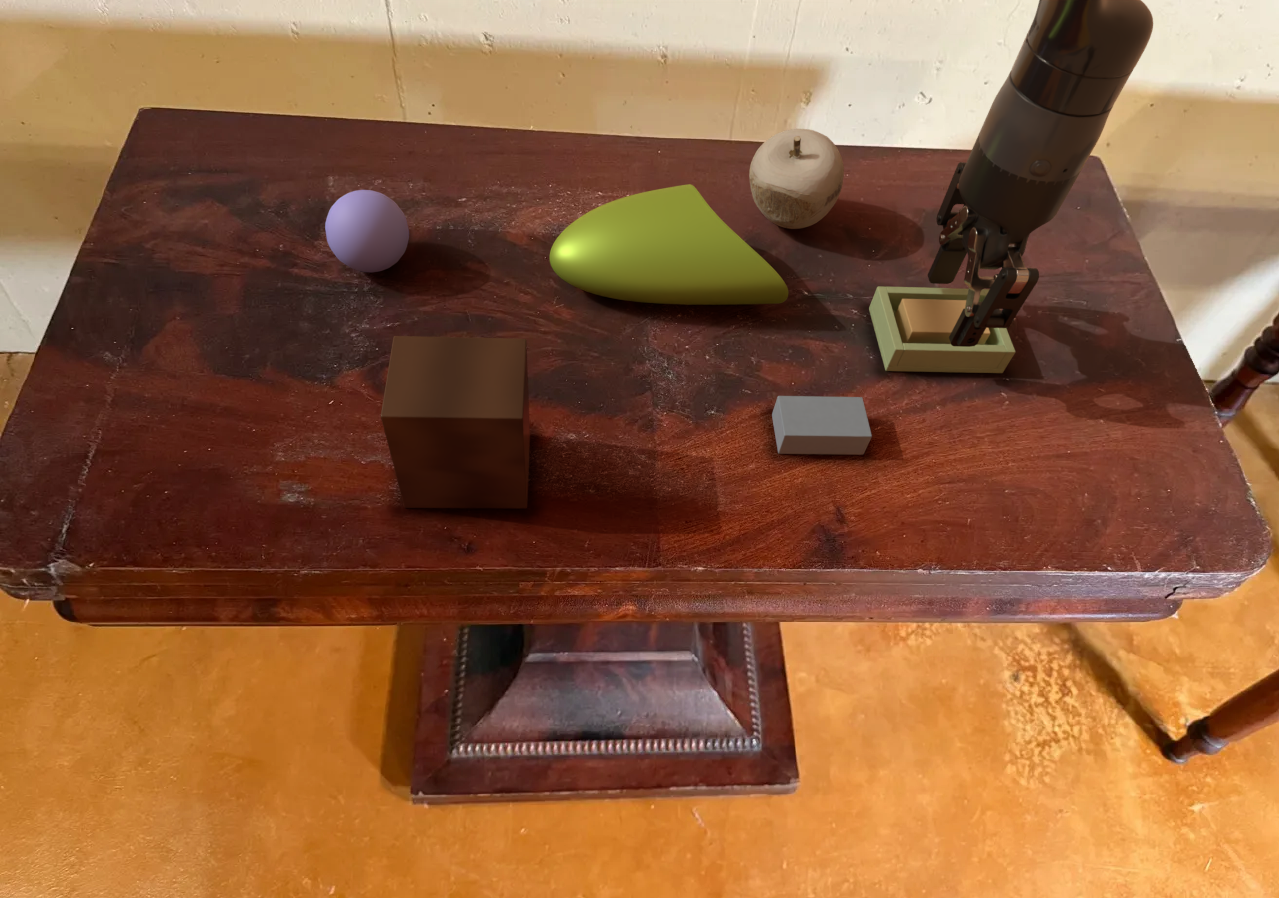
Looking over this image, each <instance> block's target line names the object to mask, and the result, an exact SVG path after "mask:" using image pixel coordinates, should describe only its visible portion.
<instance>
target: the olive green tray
mask: <svg viewBox="0 0 1279 898" xmlns="http://www.w3.org/2000/svg"><path fill="white" fill-rule="evenodd" d="M968 289H969V288H955V287H954V288H951V287H950V288H949V287H919V286H918V287H917V286H916V287H915V286H879V285H878V286H877V287H876V289H875V291H874V295H873V297H872V300H871V302H870V305H869V307H868V311H869V314H870V318H871V322H872V326H873V329H874V333H875V337H876V341H877V344H878V348H879V351H880V355H881V359H882V363H883V366H884V370H885V372H915V373H916V372H917V373H918V372H919V373H920V372H922V373H923V372H924V373H968V374H969V373H971V374H973V373H975V374H978V373H979V374H1003V373H1004V371H1005V370H1006V368H1007V367H1008V365H1009V363H1010V361H1011V360H1012V359H1013V357H1014V356H1015V354H1016V349H1015V347H1014V344H1013V341H1012V339H1011V336H1010V334H1009V332H1008V328H989V331H990V335H989V337H988V339H987V340H986V342H985V344H984V345H975V346H971V347H959V346H952V345H951V344H921V343H903V344H902V340H901V337H900V334H899V330H898V327H897V323H896V320H895V314H896V312H897V309H898V307H899V305H900V303H901V300H902V299H935V300H967V294H968ZM989 290H990V289H982V290H981V293H980V298H979V302H983V300H984V298H985V297H986V295H987V293H988V291H989Z"/></svg>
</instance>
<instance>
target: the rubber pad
mask: <svg viewBox="0 0 1279 898" xmlns="http://www.w3.org/2000/svg"><path fill="white" fill-rule="evenodd" d="M771 417H772V423H773V430H774V431H773V432H774V435H775V436H774V437H775V442H776V443H775V444H776V447H777V449H776V450H777V454H779V455H850V456H851V455H855V456H856V455H859V456H861V455H862V456H863V455H864V454H865V452H866V450H867V448H868V446H869V443H870V441H871V440H872V437H873V435H872V431H871V427H870V422H869V419H868V414H867V410H866V407H865V402H864V398H863V397H862V396H821V395H820V396H818V395H817V396H816V395H815V396H814V395H813V396H811V395H810V396H809V395H808V396H807V395H778V396H777V397H776V401H775V403H774V407H773V409H772V413H771Z"/></svg>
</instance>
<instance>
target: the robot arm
mask: <svg viewBox="0 0 1279 898" xmlns="http://www.w3.org/2000/svg"><path fill="white" fill-rule="evenodd" d="M1034 14H1035V15H1034V17H1033V20H1032V23H1031V25H1030V27H1029V29H1028V31H1027V33H1026V36H1025V38H1024V40H1023V42H1022V45H1021V47H1020V49H1019V51H1018V54H1017V56H1016V58H1015V60H1014V62H1013V65H1012V67H1011V70H1010V72H1009V74H1008V76H1006V77H1007V78H1006V79H1005V81H1004V82H1003V84H1002V86H1001V87H1000V89H999V90H998V92H997V94H996V95H995V97H994V99H993V101H992V103H991V106H990V107H989V110H988V112H987V114H986V117H985V119H984V121H983V123H982V125H981V127H980V131H979V133H978V134H977V138H976V140H975V142H974V144H973V146H972V148H971V151H970V153H969V156H968V158H967V160H966V162H964V161H963V162H962V161H960V162H958V163H957V165H956V167H955V170H954V173H953V175H952V177H951V180H950V183H949V185H948V187H947V190H946V193H945V195H944V198H943V199H942V202H941V205H940V207H939V210H938V211H937V215H936V225H937V226H938V227H939V226H942V230H941V231H940V232H939V236H938V243H939V245H940V246H939V249H938V250H937V253H936V255H935V257H934V259H933V261H932V264H931V265H930V268H929V270H928V273H927V278H928V281H929V283H930V284H933V285H935V284H936V285H938V284H939V285H950V284H951V283H953V282H954V281H955V280H956V279H955V278H956V277H957V274H958V272H959V270H960V269H961V267H962V265H963V262H964V260H965V258H966V256H967V262H966V267H965V273H964V278H963V282H964V285H966V286H967V287H968V288H967V289H968V294H967V300H966V305H965V309H963V311H962V313H961V315H960V317H959V318H958V320H957V322H956V324H955V326H954V328H953V330H952V332H951V334H950V336H949V340H950V343H951V345H952V346H959V347H971V346H975V345H977V344H978V342H979V340H980V338H981V336H982V335H983V333H984V331H985V329H986V328H1006V329H1008V328H1009V327H1010V326H1011V325H1012V323H1013V321H1014V319H1015V318H1016V316H1017V315H1018V313H1019V312H1020V310H1021V308H1022V307H1023V306H1024V305H1025V302H1026V301H1027V300H1028V298H1029V296H1030V294H1031V292H1033V290H1034V288H1035V286H1036V285H1037V283H1038V281H1039V278H1040V271H1039V269H1038V268H1037V267H1026V265H1025V262H1024V260H1023V256H1024V254H1025V251H1026V247H1027V243H1028V240H1029V237H1030V234H1031V233H1033V232H1035V230H1037V229H1038V228H1039V229H1040V228H1041V227H1042V226H1044V225H1046V224H1047V223H1049V222H1051V220H1053V219H1054V218H1055V217H1056V216H1057V214H1058V212H1059V210H1060V209H1061V208H1062V205H1063V204H1064V202H1065V200H1066V198H1067V197H1068V194H1069V193H1070V191H1071V190H1072V188H1073V186H1074V184H1075V182H1076V181H1077V178H1078V177H1079V175H1080V173H1081V172H1082V170H1083V168H1084V166H1085V164H1086V163H1087V161H1088V159H1089V158H1090V156H1091V153H1093V151H1094V149H1095V148H1096V146H1097V144H1098V141H1099V140H1100V138H1101V135H1102V133H1103V131H1104V129H1105V126H1106V123H1107V122H1108V119H1109V116H1110V113H1111V112H1112V109H1113V108H1114V105H1115V103H1116V101H1117V100H1118V98H1119V96H1120V94H1121V92H1122V91H1123V89H1124V88H1125V85H1126V84H1127V82H1128V80H1129V78H1130V77H1131V74H1132V73H1133V71H1134V69H1135V68H1136V66H1137V65H1138V63H1139V61H1140V59H1141V57H1142V56H1143V54H1144V51H1145V49H1146V48H1147V47H1148V44H1149V42H1150V39H1151V37H1152V34H1153V29H1154V18H1153V14H1152V11H1151V10H1150V8H1149V7H1148V5H1146V3H1145V2H1144V1H1142V0H1038V4H1037V8H1036V12H1035V13H1034ZM956 205H962V208H960V209H959V210H958V211H953V208H954V206H956ZM998 269H1000V271H999V272H998V273H995V274H993V276H985V275H980V270H998ZM982 289H990V290H989V291H988V293H987V295H986V297H985V298H984V300H983V302H979V298H980V293H981V290H982Z"/></svg>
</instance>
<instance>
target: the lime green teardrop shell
mask: <svg viewBox="0 0 1279 898" xmlns="http://www.w3.org/2000/svg"><path fill="white" fill-rule="evenodd" d="M549 264H550V266H551V268H552V270H553V271H554V273H555V274H556V275H557V276H558V277H559V278H560V279H561V280H563V281H564V282H565V283H567V284H568V285H570V286H572V287H574V288H577V289H579V290H581V291H583V292H586V293H589V294H592V295H596V296H600V297H603V298H608V299H613V300H619V301H620V300H621V301H627V302H634V303H635V302H636V303H644V304H645V303H646V304H658V305H659V304H661V305H683V306H684V305H688V306H691V305H692V306H694V305H695V306H700V305H701V306H717V305H718V306H721V305H725V306H726V305H728V306H729V305H776V304H783V303H784V302H786V301H787V299H788V297H789V288H788V286H787V284H786V283H785V282H786V281H784V280H783V278H782V277H781V275H780V274H779V273H778V271H776V270H775V269H774V268H773V267H772V266H771V264H770V263H768V262H767V260H765V259H764V257H762V256H761V255H760V254H759V253H758V252H757V251H756V250H755V249H753V248H752V247H751V246H750V245H749V244H748V243H747V242H746V241H745V240H744V239H742V238H741V237H740V236H739V235H738V234H737V233H736V232H735V231H734V230H733V229H732V228H731V227H730V226H728V224H726V222H725V221H723V219H722V218H721V217H719V215H718V214H717V213H716V212H715V211H714V210H713V209H712V207H710V205H709V204H708V203H707V201H706V199H704V197H703V196H702V194H701V193H700V192H699V191H698V189H697V188H696V187H695V186H694V184H691V183H689V184H681V185H675V186H670V187H664V188H658V189H653V190H649V191H643V192H639V193H635V194H631V195H627V196H624V197H621V198H617V199H615V200H612V201H609V202H607V203H603V204H602V205H600V206H598V207H596V208H593V209H591V210H590V211H588V212H586V213H584V214H583V215H581V216H580V217H578V218H577V219H575V220H574V221H573V222H571V223H570V224H569V225H568V226H566V228H565V229H563V231H561V233H560V234H559V235H558V236H557V237H556V238H555V241H554V242H553V244H552V245H551V248H550V251H549Z"/></svg>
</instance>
